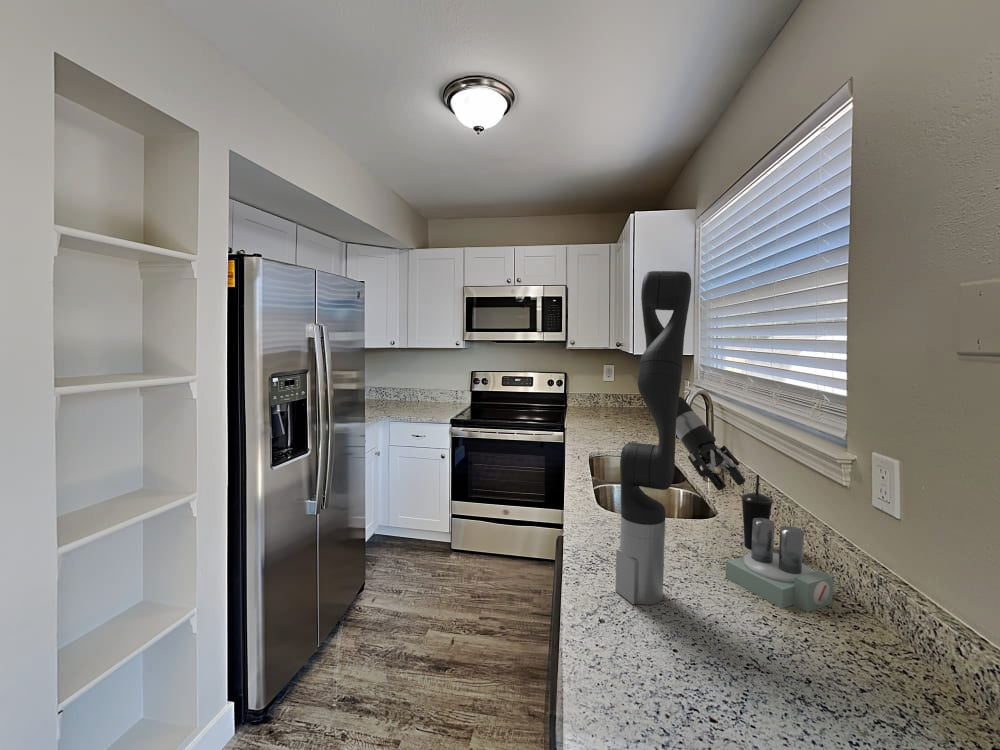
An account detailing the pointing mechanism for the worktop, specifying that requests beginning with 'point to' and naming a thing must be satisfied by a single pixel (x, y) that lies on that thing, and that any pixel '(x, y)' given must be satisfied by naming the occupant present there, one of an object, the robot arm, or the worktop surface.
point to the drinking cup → (754, 511)
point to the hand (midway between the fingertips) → (732, 486)
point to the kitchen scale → (782, 583)
